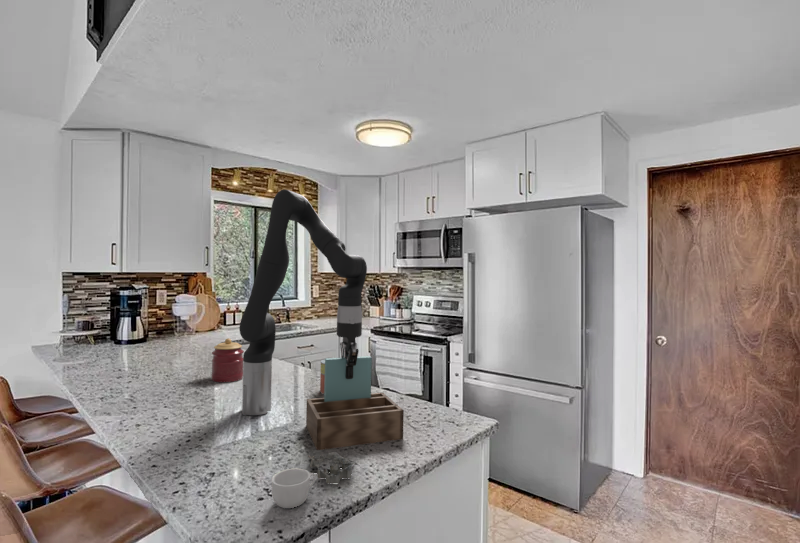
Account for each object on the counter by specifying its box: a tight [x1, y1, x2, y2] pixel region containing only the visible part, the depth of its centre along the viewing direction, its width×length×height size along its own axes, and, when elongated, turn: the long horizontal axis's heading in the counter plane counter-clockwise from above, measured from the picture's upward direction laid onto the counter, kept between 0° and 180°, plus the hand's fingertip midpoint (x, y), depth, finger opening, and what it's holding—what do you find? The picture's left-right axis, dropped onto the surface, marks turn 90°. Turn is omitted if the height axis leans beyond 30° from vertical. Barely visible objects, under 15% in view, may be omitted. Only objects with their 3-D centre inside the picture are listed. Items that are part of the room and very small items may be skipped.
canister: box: [210, 338, 245, 383], centre depth 185 cm, size 13×13×18 cm
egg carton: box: [307, 451, 356, 485], centre depth 101 cm, size 11×8×4 cm
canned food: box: [319, 358, 325, 395], centre depth 170 cm, size 11×11×12 cm
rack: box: [305, 392, 405, 451], centre depth 123 cm, size 24×18×10 cm
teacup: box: [271, 467, 317, 509], centre depth 89 cm, size 10×8×5 cm
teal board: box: [323, 355, 373, 402], centre depth 129 cm, size 14×2×20 cm, turn 111°
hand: (348, 377), depth 129 cm, fingers closed on teal board, 2 cm apart
